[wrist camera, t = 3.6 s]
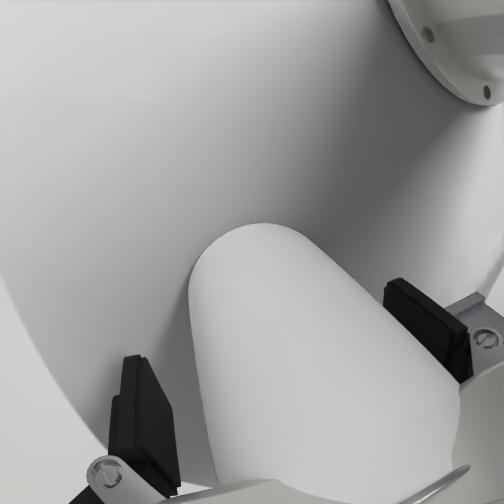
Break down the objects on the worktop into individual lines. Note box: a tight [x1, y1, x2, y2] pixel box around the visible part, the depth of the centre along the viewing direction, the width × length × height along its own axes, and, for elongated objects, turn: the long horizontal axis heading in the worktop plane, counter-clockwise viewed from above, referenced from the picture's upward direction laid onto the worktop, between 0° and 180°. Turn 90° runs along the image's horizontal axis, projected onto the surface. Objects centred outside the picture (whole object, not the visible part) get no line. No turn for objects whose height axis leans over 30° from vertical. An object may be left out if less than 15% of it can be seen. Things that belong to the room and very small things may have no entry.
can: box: [188, 223, 471, 504], centre depth 9 cm, size 6×6×12 cm
